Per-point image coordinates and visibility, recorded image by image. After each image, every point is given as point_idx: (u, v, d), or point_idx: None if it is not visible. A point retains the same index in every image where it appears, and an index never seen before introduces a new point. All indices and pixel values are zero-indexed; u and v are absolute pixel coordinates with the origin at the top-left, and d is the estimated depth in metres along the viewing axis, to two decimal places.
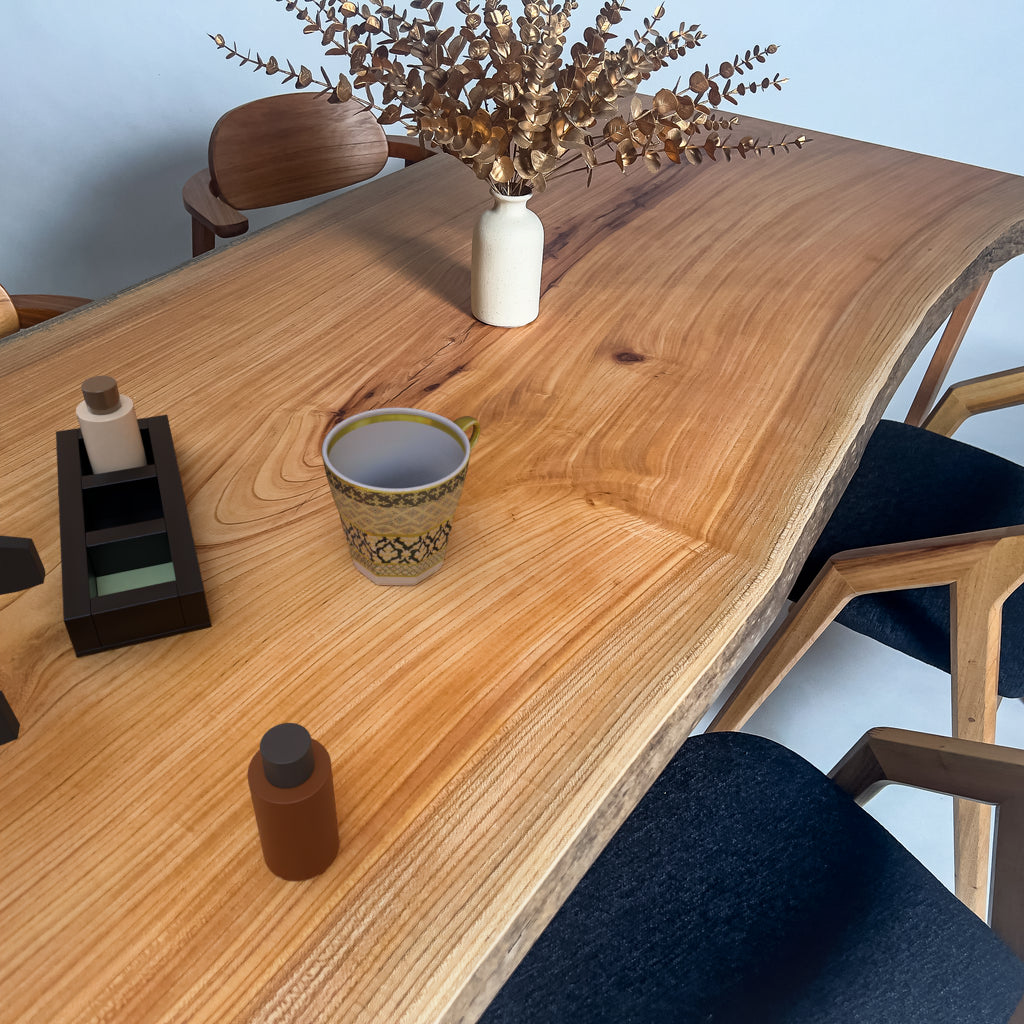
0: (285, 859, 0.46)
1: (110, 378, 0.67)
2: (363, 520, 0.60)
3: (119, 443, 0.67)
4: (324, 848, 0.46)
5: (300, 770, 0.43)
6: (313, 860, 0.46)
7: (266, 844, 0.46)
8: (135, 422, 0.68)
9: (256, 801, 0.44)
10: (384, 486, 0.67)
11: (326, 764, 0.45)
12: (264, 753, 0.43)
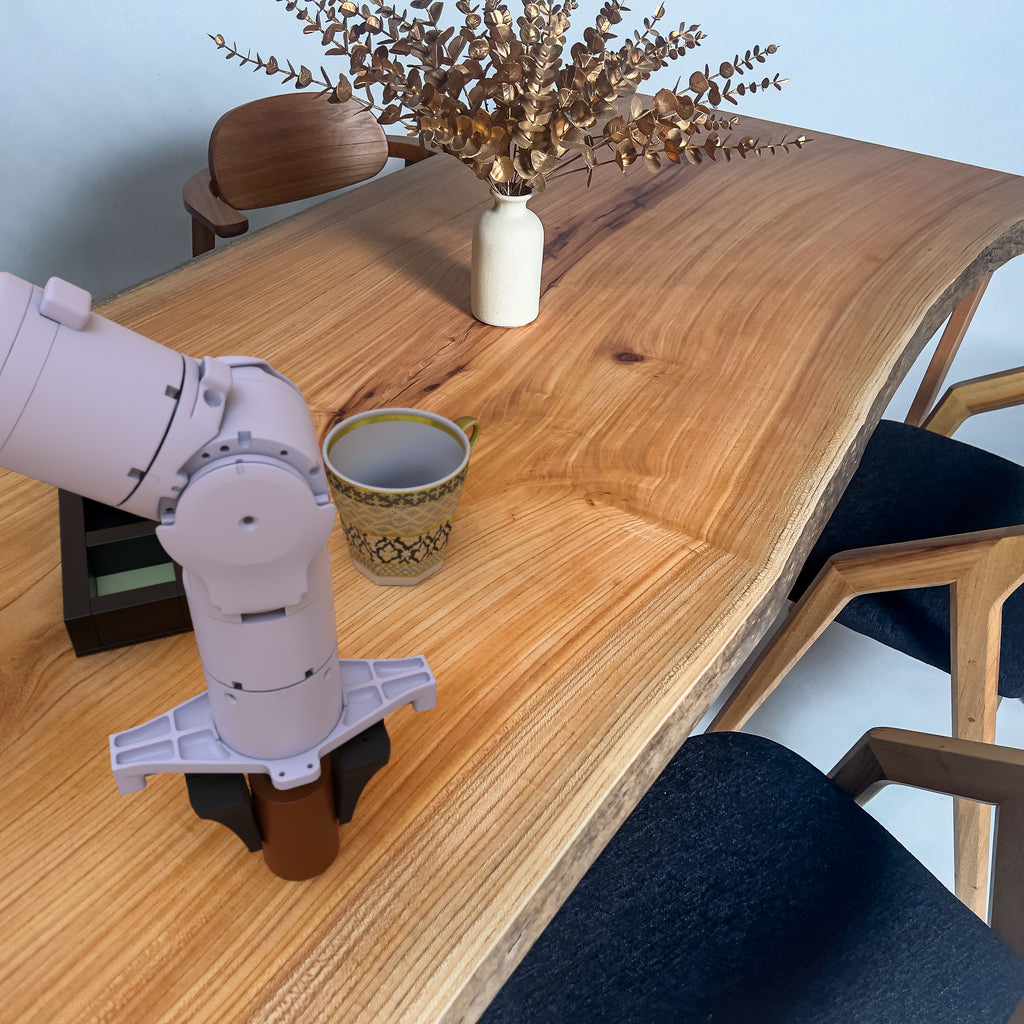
0: (286, 859, 0.46)
1: None
2: (363, 520, 0.60)
3: None
4: (324, 849, 0.47)
5: None
6: (313, 860, 0.46)
7: (266, 844, 0.46)
8: None
9: (256, 801, 0.44)
10: (384, 486, 0.67)
11: (326, 764, 0.45)
12: None
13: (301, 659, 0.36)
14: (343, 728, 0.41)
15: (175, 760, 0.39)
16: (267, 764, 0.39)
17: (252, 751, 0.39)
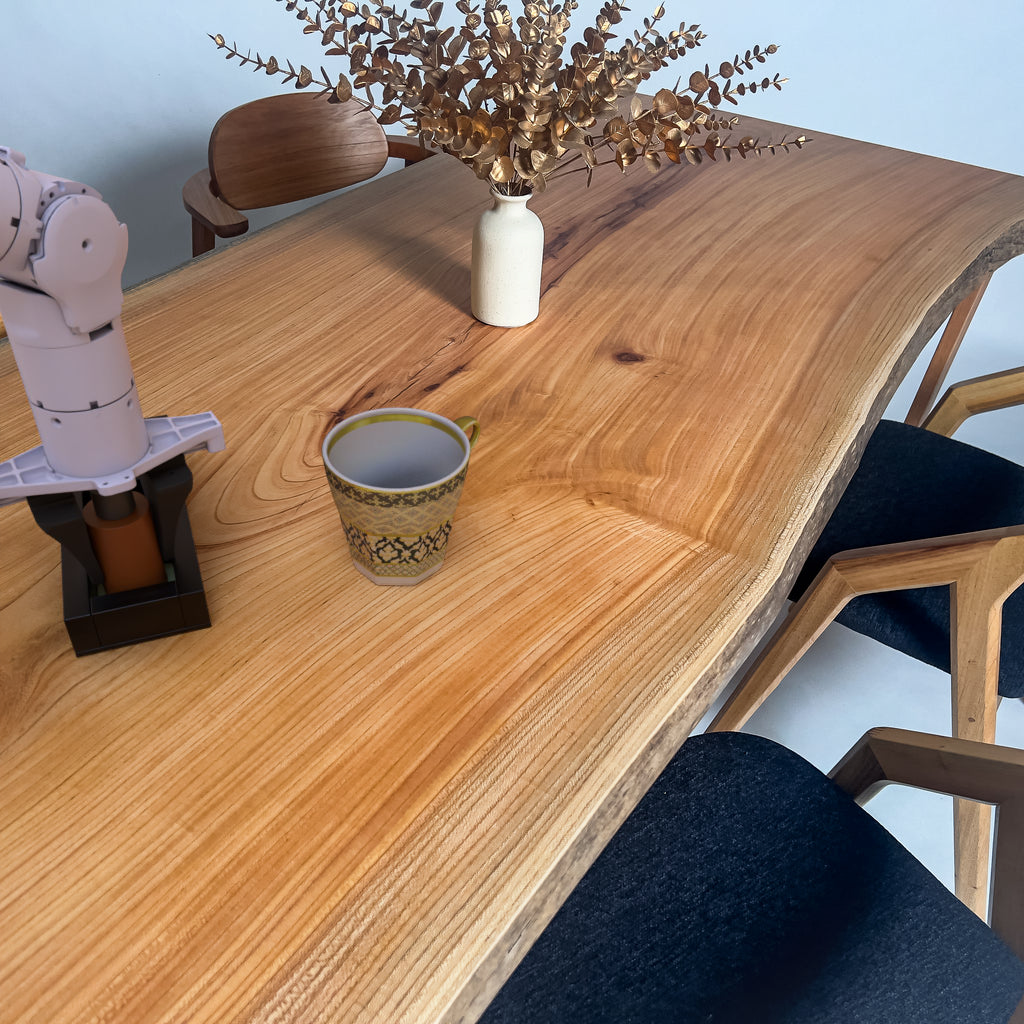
0: (123, 587, 0.59)
1: None
2: (363, 520, 0.60)
3: None
4: (154, 578, 0.60)
5: (123, 503, 0.56)
6: None
7: (106, 577, 0.59)
8: None
9: (92, 534, 0.56)
10: (384, 486, 0.67)
11: (145, 504, 0.58)
12: (92, 491, 0.55)
13: (126, 369, 0.51)
14: (151, 455, 0.54)
15: (19, 484, 0.51)
16: (93, 479, 0.52)
17: (80, 471, 0.52)
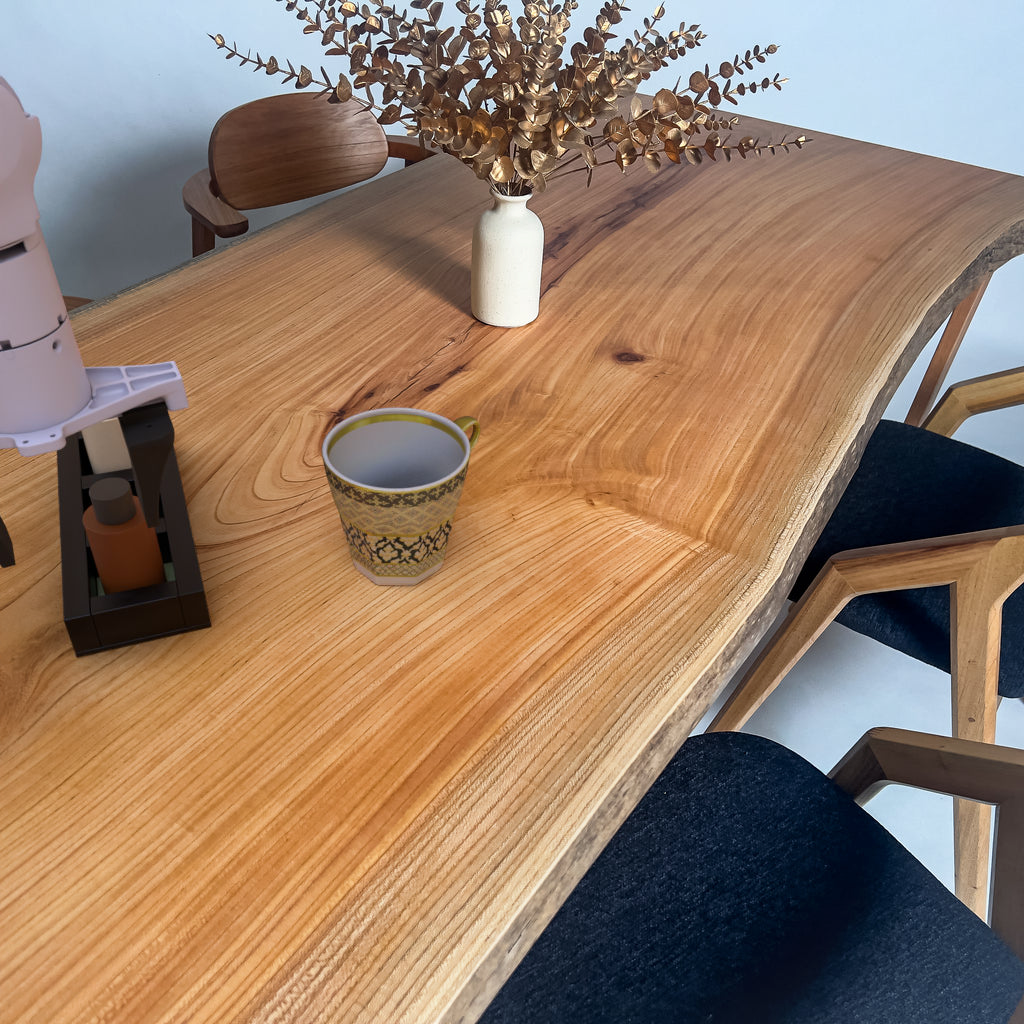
0: None
1: None
2: (363, 520, 0.60)
3: (119, 443, 0.67)
4: (154, 582, 0.60)
5: (124, 507, 0.56)
6: None
7: (106, 581, 0.59)
8: None
9: (92, 538, 0.57)
10: (384, 486, 0.67)
11: None
12: (93, 496, 0.56)
13: (51, 302, 0.42)
14: (88, 410, 0.45)
15: None
16: (13, 436, 0.43)
17: None
